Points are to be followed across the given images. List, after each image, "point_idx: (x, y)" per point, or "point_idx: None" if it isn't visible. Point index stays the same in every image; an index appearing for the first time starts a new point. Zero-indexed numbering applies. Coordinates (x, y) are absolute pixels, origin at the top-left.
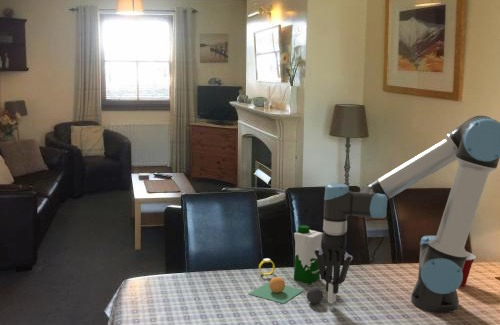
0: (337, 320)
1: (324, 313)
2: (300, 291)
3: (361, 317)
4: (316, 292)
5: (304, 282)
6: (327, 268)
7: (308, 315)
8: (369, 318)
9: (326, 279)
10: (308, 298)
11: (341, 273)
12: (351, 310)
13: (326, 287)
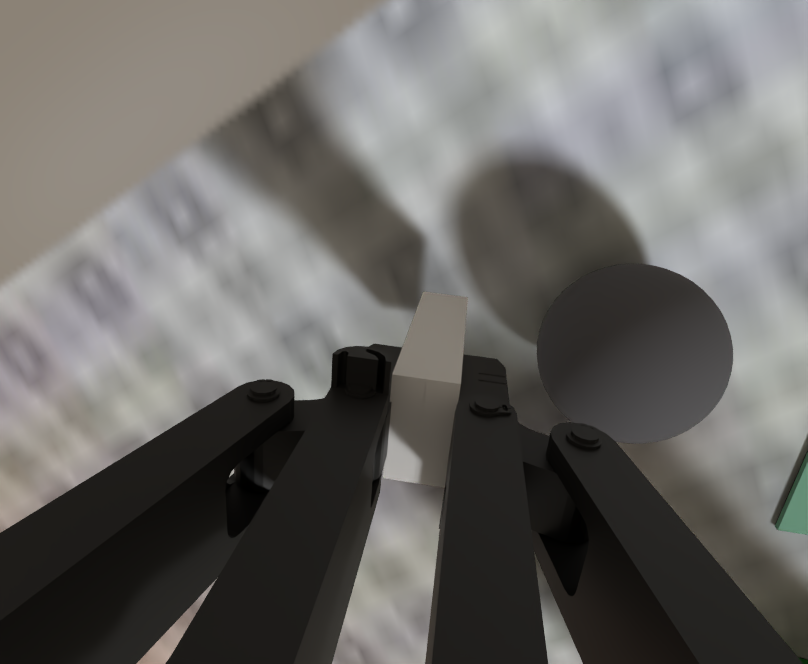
0: (297, 67)
1: (455, 155)
2: (802, 495)
3: (163, 242)
4: (612, 320)
5: (802, 661)
6: (499, 574)
7: (589, 14)
8: (109, 255)
9: (503, 424)
10: (682, 276)
11: (156, 484)
12: (280, 331)
13: (499, 381)
